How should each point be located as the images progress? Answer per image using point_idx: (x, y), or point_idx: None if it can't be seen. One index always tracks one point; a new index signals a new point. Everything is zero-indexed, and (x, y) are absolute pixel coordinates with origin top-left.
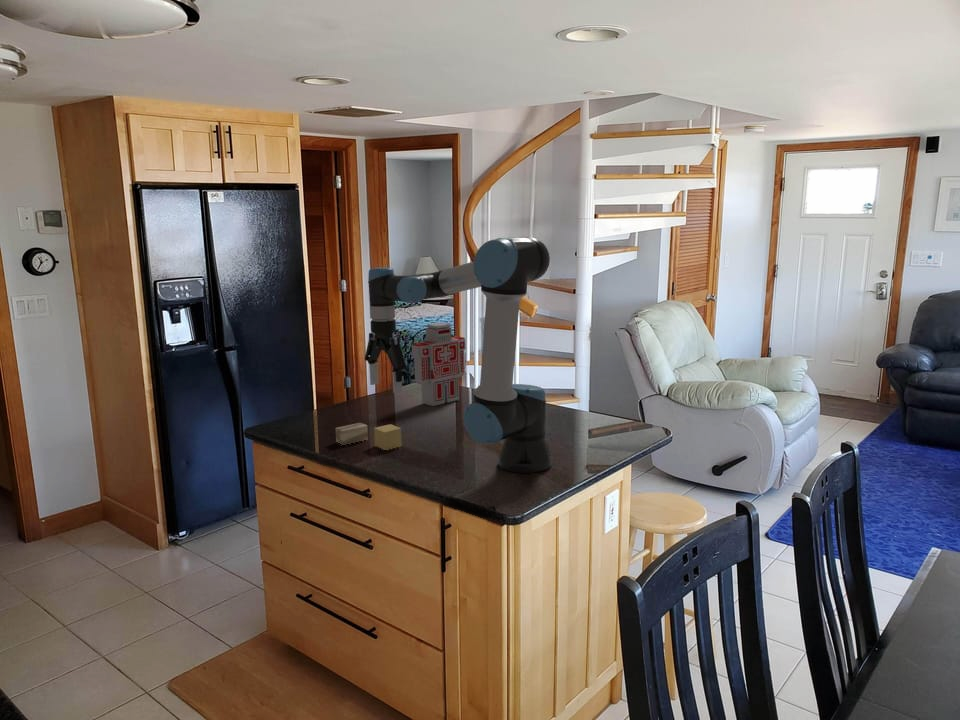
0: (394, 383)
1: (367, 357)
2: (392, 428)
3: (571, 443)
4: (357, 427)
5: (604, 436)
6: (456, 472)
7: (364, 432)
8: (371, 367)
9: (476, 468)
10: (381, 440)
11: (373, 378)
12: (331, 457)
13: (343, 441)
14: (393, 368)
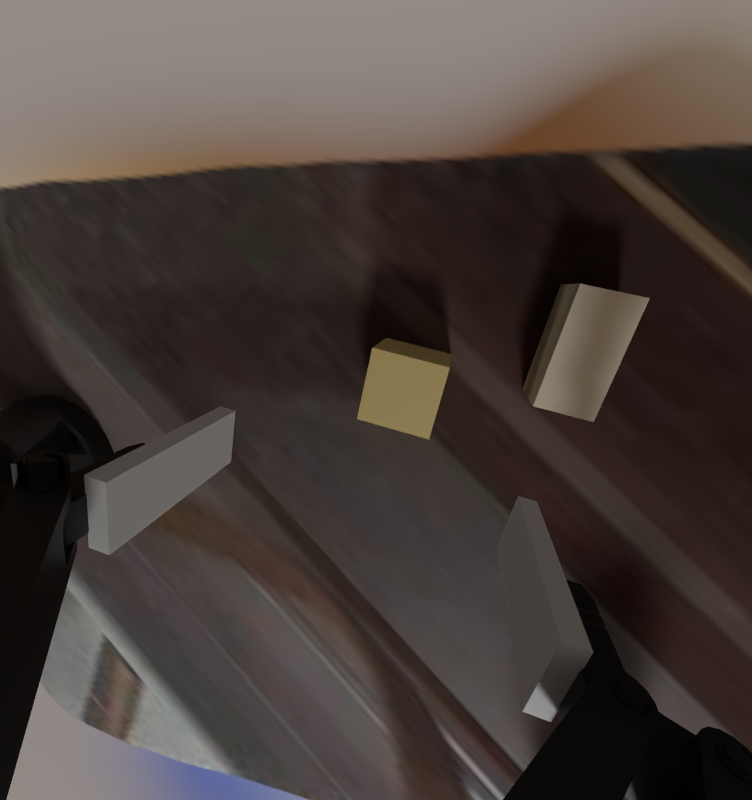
0: (174, 431)
1: (700, 783)
2: (382, 401)
3: (103, 599)
4: (553, 362)
5: (96, 654)
6: (112, 319)
7: (532, 384)
8: (546, 614)
9: (105, 371)
10: (402, 347)
11: (519, 542)
12: (499, 156)
13: (564, 287)
14: (63, 499)
